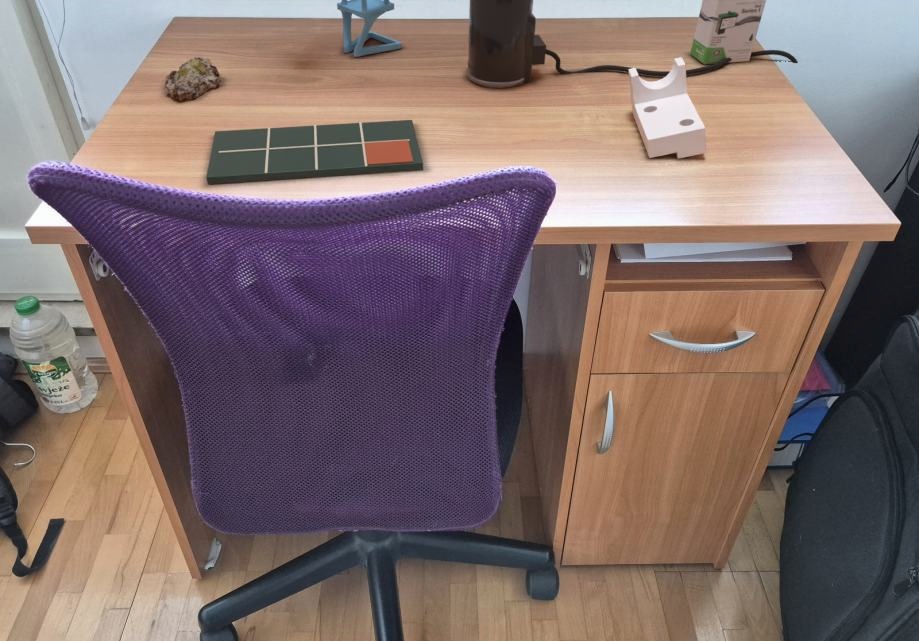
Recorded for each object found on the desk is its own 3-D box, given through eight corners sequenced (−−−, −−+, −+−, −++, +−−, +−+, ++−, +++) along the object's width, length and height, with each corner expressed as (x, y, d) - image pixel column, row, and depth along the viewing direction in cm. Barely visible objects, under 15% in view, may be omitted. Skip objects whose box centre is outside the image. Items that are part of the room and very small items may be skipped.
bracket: (633, 119, 104) (628, 69, 99) (683, 108, 103) (681, 56, 98) (649, 164, 94) (645, 111, 89) (706, 152, 93) (704, 98, 88)
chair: (333, 48, 120) (326, -29, 112) (371, 36, 124) (366, -40, 117) (365, 61, 116) (359, -18, 108) (402, 47, 121) (399, -30, 113)
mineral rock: (171, 55, 110) (218, 44, 108) (186, 82, 113) (231, 71, 111) (143, 87, 103) (192, 75, 101) (159, 115, 105) (208, 104, 103)
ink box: (702, 65, 117) (721, -12, 109) (688, 53, 121) (705, -22, 113) (751, 61, 119) (772, -16, 111) (735, 50, 122) (755, -25, 114)
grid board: (412, 126, 99) (412, 118, 98) (423, 169, 90) (423, 161, 90) (216, 138, 96) (214, 129, 95) (207, 184, 87) (205, 175, 86)
